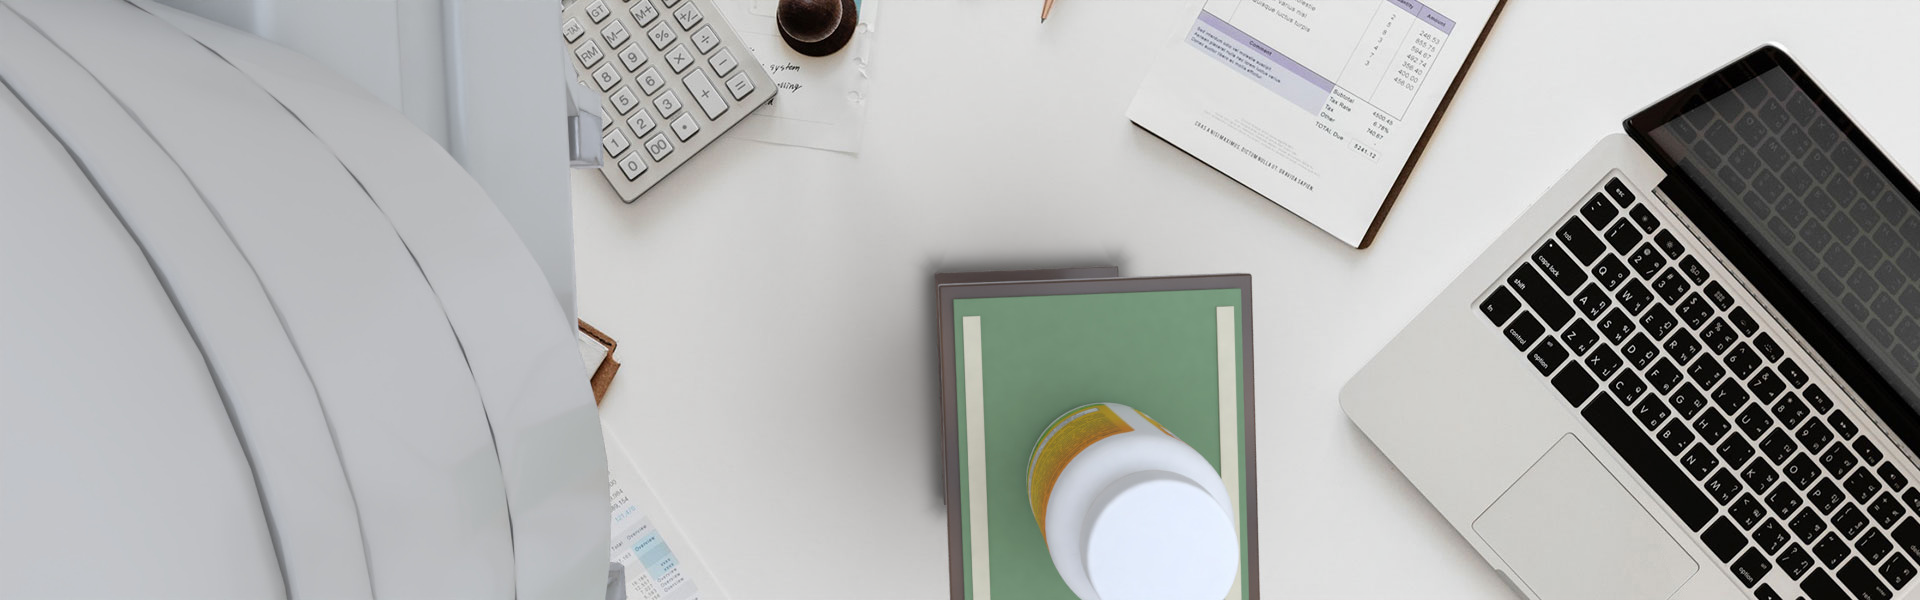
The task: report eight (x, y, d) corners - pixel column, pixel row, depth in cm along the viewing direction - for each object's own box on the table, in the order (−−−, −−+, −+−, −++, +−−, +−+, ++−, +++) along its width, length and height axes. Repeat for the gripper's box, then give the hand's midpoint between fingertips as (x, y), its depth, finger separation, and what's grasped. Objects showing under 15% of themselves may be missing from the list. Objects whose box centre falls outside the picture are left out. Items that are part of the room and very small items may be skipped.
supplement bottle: (1013, 541, 37) (1043, 644, 27) (1037, 389, 37) (1076, 437, 27) (1164, 564, 37) (1248, 674, 27) (1190, 413, 37) (1283, 469, 27)
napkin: (953, 299, 37) (953, 299, 36) (1238, 288, 37) (1242, 288, 37) (967, 667, 37) (967, 671, 37) (1248, 654, 37) (1251, 658, 37)
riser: (934, 272, 65) (938, 285, 37) (1113, 266, 65) (1252, 273, 37) (943, 499, 65) (953, 681, 37) (1120, 491, 65) (1262, 667, 38)
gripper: (-679, -946, 7) (388, -150, 21) (-397, 1915, 8) (447, 859, 22) (283, -952, 7) (709, -159, 21) (453, 1851, 8) (754, 844, 22)
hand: (576, 367), depth 21 cm, fingers open, 8 cm apart
